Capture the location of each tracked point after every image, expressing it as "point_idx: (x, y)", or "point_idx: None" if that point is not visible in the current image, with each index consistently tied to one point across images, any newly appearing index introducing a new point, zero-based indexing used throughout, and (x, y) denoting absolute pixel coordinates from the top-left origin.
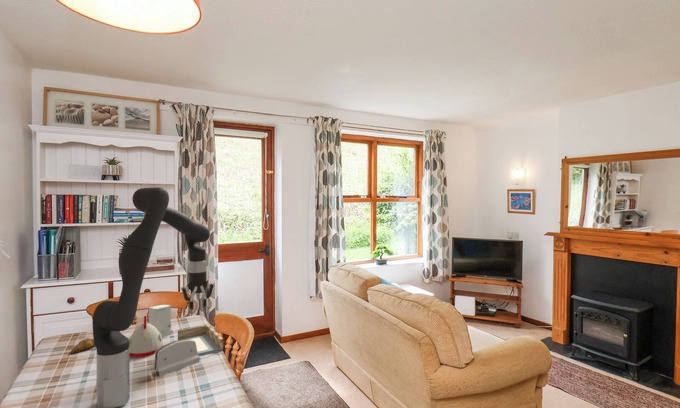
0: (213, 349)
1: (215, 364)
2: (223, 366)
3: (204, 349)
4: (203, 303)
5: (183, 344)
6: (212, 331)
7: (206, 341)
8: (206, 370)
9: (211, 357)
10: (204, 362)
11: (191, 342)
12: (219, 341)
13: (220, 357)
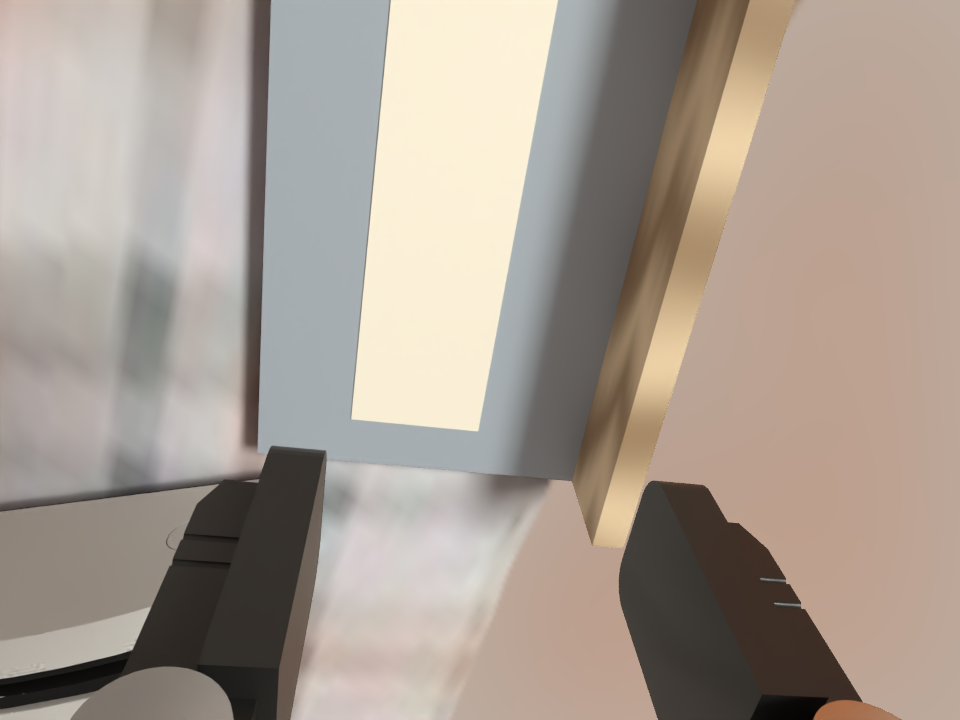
0: (509, 462)
1: (403, 661)
2: (434, 713)
3: (438, 409)
4: (656, 685)
5: None
6: (681, 238)
7: (566, 197)
8: (309, 702)
9: (434, 542)
10: (346, 590)
11: None
12: (592, 496)
13: (494, 583)
